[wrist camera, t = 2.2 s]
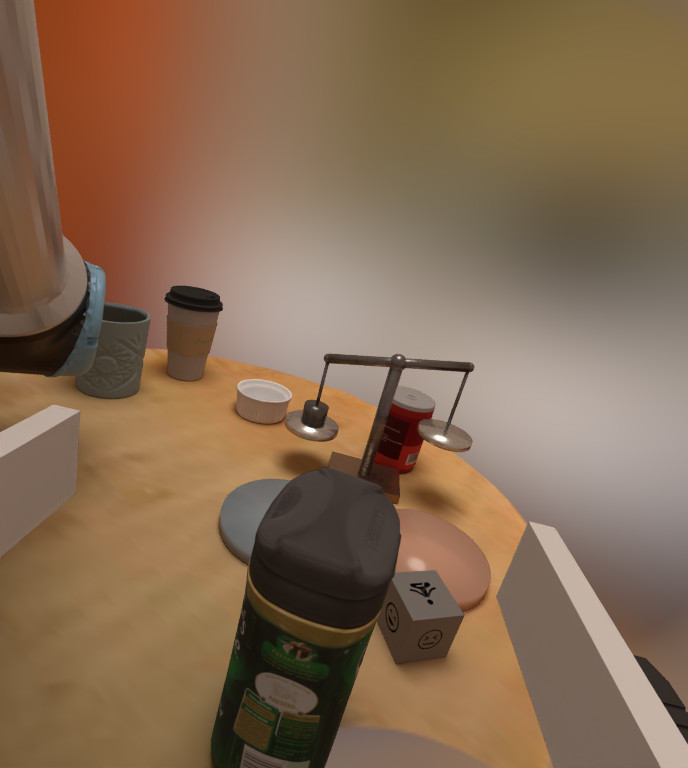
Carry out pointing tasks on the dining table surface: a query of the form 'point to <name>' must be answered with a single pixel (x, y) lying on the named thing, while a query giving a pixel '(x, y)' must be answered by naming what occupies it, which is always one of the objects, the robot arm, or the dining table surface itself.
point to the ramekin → (262, 401)
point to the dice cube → (419, 617)
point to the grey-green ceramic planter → (117, 353)
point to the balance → (379, 420)
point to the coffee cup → (190, 330)
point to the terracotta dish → (443, 555)
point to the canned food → (404, 429)
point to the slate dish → (246, 514)
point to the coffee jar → (305, 620)
